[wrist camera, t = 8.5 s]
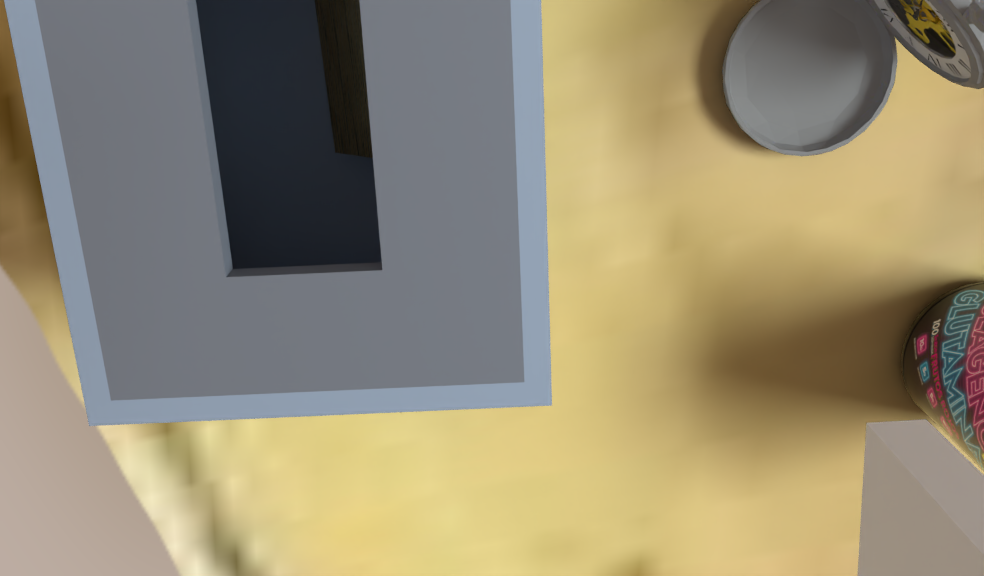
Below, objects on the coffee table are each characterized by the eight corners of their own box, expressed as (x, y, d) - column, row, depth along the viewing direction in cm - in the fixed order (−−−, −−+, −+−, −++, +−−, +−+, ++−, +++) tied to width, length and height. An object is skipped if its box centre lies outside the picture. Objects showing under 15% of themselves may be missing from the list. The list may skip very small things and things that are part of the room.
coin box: (532, 281, 40) (551, 405, 28) (201, 296, 40) (89, 425, 28) (516, -191, 34) (533, -273, 23) (130, -173, 34) (-46, -245, 23)
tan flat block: (388, 141, 37) (511, 155, 32) (335, 152, 35) (455, 170, 30) (369, -20, 35) (497, -31, 30) (312, -16, 33) (436, -27, 28)
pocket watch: (696, 129, 38) (768, 181, 28) (766, -90, 35) (871, -112, 26) (886, 178, 39) (1018, 245, 29) (969, -33, 36) (1142, -35, 26)
